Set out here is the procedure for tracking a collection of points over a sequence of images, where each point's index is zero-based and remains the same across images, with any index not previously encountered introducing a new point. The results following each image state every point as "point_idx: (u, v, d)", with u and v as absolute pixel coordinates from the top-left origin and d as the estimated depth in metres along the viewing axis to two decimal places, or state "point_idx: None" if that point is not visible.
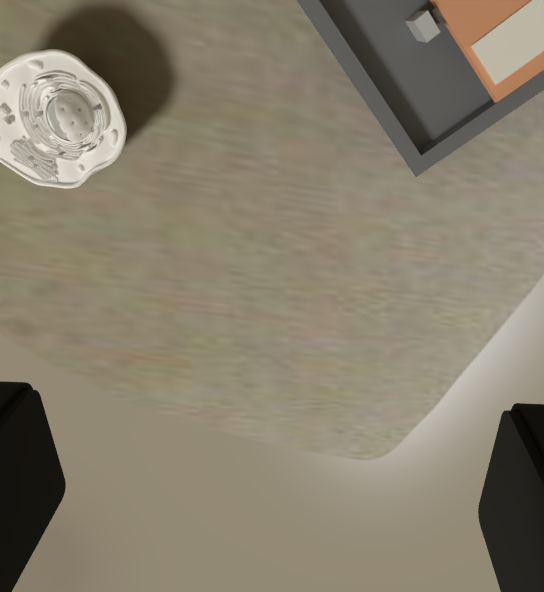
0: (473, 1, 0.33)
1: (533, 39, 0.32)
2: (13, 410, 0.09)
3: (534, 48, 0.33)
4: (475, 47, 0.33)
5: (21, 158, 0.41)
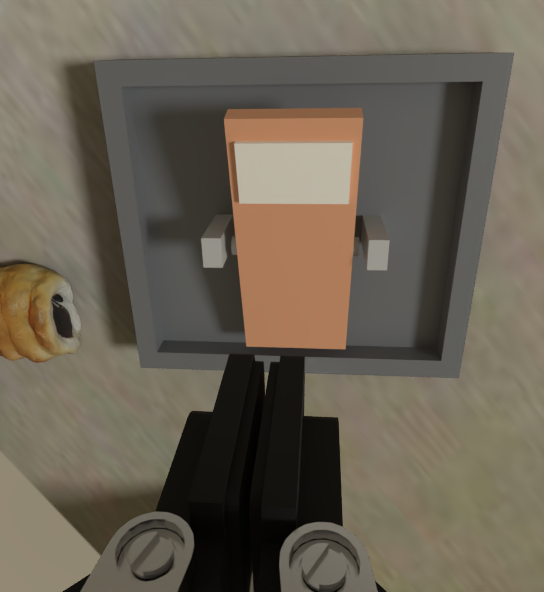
0: (316, 240, 0.26)
1: (282, 164, 0.23)
2: (256, 378, 0.10)
3: (286, 153, 0.23)
4: (345, 199, 0.24)
5: None
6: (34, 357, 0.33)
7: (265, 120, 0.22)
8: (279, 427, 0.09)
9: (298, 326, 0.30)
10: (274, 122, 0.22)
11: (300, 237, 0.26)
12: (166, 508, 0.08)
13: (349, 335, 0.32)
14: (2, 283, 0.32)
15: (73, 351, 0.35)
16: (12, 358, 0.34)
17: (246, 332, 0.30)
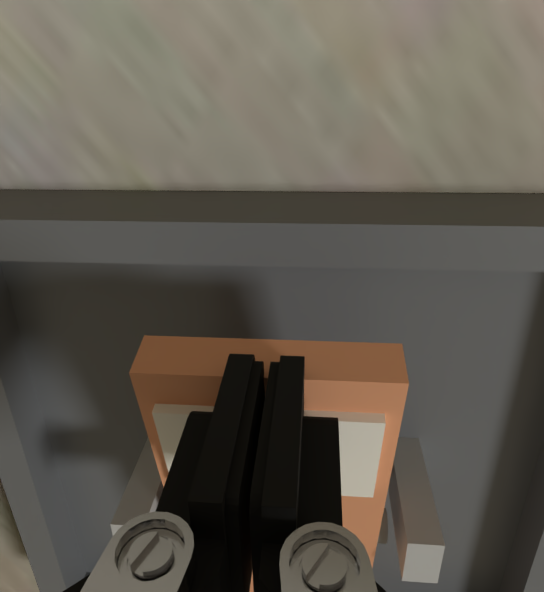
0: None
1: None
2: (256, 378, 0.10)
3: None
4: (367, 490, 0.13)
5: None
6: None
7: (210, 379, 0.11)
8: (279, 427, 0.09)
9: None
10: None
11: None
12: (166, 508, 0.08)
13: None
14: None
15: None
16: None
17: None
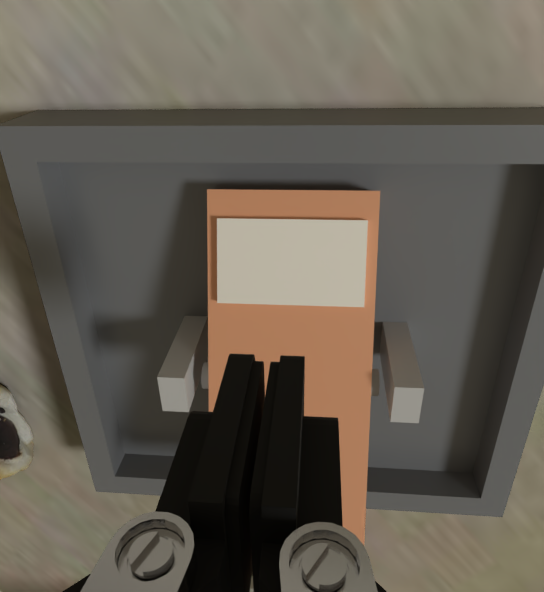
0: (319, 364, 0.18)
1: (276, 247, 0.18)
2: (256, 378, 0.10)
3: (282, 232, 0.18)
4: (360, 300, 0.18)
5: None
6: None
7: (257, 192, 0.18)
8: (279, 427, 0.09)
9: None
10: (269, 194, 0.18)
11: None
12: (166, 508, 0.08)
13: None
14: None
15: (24, 469, 0.28)
16: None
17: None
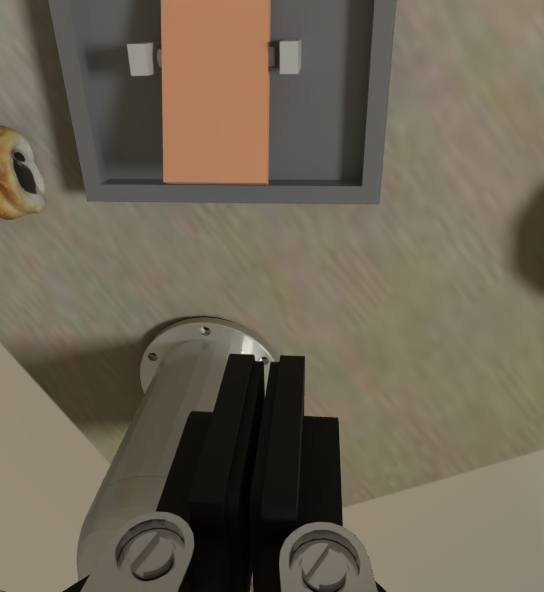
0: (234, 38, 0.28)
1: None
2: (256, 378, 0.10)
3: None
4: None
5: None
6: (2, 211, 0.36)
7: None
8: (279, 427, 0.09)
9: (217, 150, 0.29)
10: None
11: (219, 36, 0.28)
12: (166, 508, 0.08)
13: (280, 168, 0.35)
14: None
15: (39, 209, 0.38)
16: None
17: (164, 161, 0.29)
